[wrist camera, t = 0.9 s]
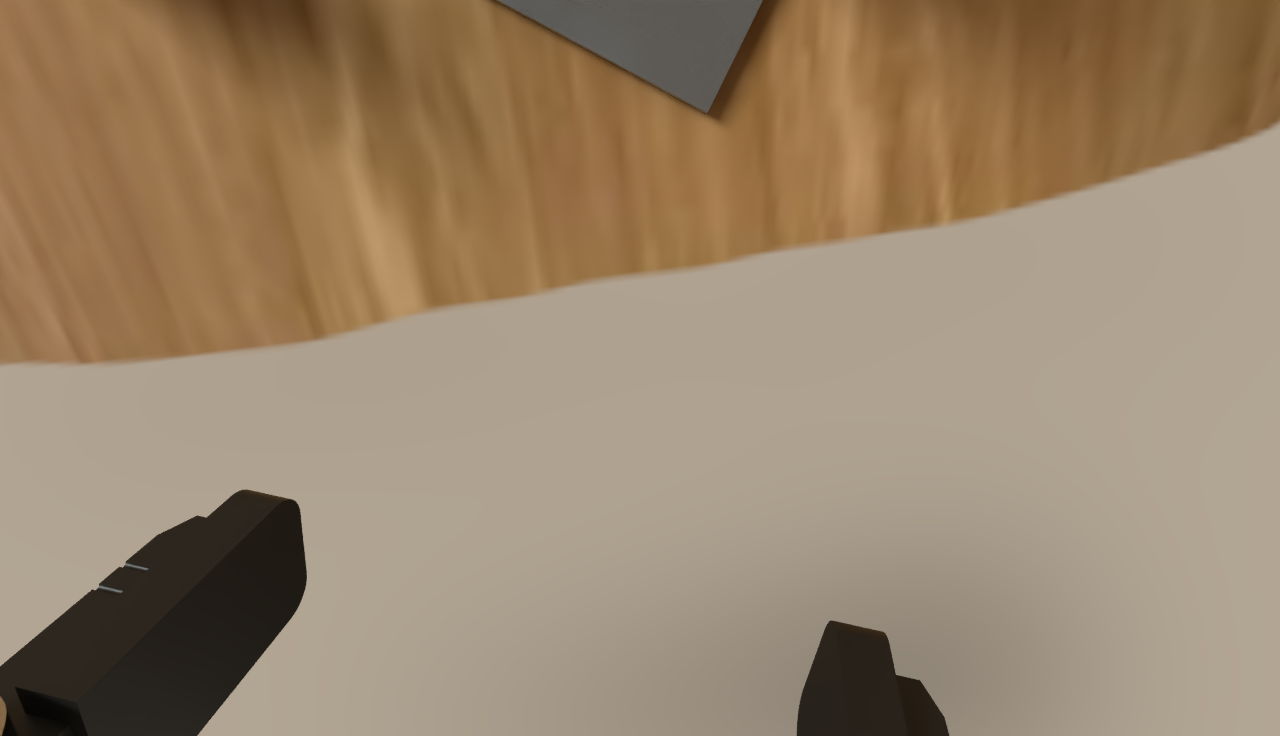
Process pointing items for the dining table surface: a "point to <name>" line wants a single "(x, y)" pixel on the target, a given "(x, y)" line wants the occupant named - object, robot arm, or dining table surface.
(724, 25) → the grey tray with jar
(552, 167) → the dining table surface
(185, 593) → the robot arm
